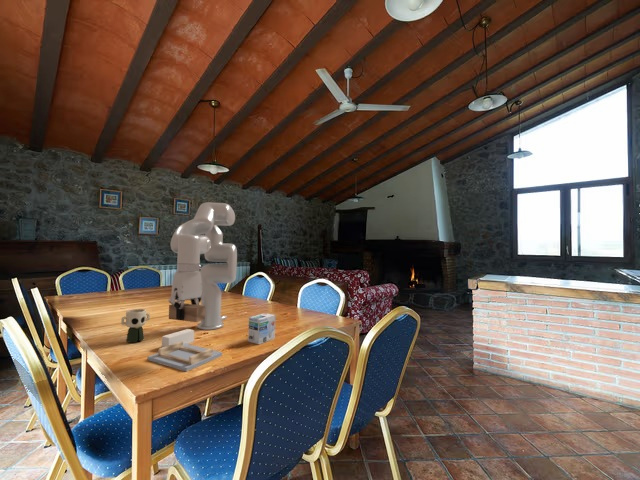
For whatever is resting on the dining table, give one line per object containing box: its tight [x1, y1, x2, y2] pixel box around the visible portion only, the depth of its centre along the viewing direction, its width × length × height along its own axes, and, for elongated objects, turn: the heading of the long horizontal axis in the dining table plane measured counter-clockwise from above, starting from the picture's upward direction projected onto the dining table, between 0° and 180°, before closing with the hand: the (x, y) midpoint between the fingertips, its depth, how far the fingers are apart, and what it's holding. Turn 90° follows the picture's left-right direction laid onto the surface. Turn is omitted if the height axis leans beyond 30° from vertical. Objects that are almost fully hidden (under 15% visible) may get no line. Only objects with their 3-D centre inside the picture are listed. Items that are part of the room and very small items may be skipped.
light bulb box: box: [247, 312, 276, 345], centre depth 130 cm, size 11×7×11 cm, turn 148°
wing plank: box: [161, 328, 195, 348], centre depth 122 cm, size 12×4×5 cm, turn 154°
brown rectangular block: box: [168, 303, 205, 323], centre depth 107 cm, size 4×12×5 cm, turn 74°
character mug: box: [120, 308, 151, 343], centre depth 124 cm, size 11×7×13 cm, turn 145°
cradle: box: [157, 342, 214, 365], centre depth 107 cm, size 9×17×2 cm, turn 64°
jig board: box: [147, 343, 223, 372], centre depth 108 cm, size 16×20×1 cm
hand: (186, 317), depth 107 cm, fingers closed on brown rectangular block, 5 cm apart
